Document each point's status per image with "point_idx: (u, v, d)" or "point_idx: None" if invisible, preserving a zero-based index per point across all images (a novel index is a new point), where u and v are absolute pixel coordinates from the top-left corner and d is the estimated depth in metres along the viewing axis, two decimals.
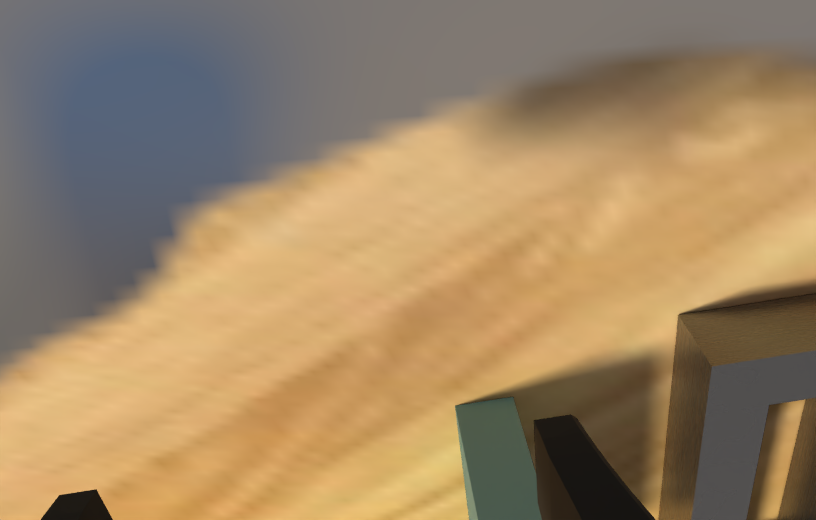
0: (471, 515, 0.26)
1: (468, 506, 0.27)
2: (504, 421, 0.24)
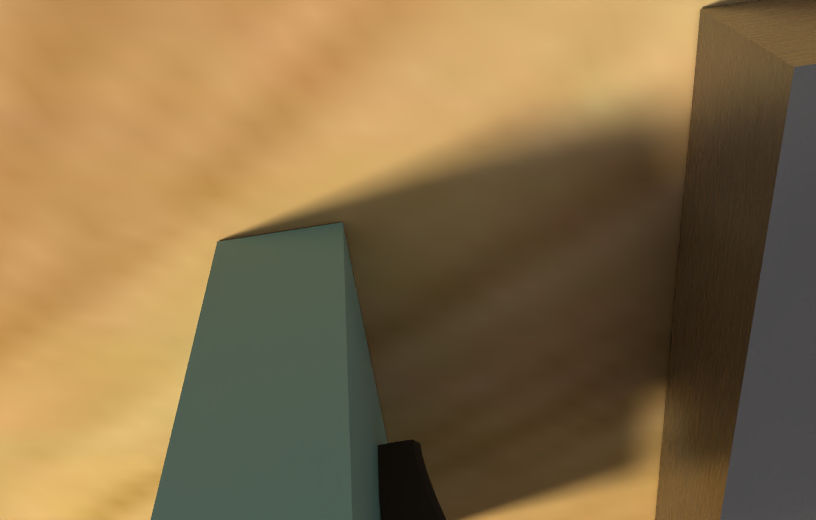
0: None
1: None
2: (309, 265, 0.11)
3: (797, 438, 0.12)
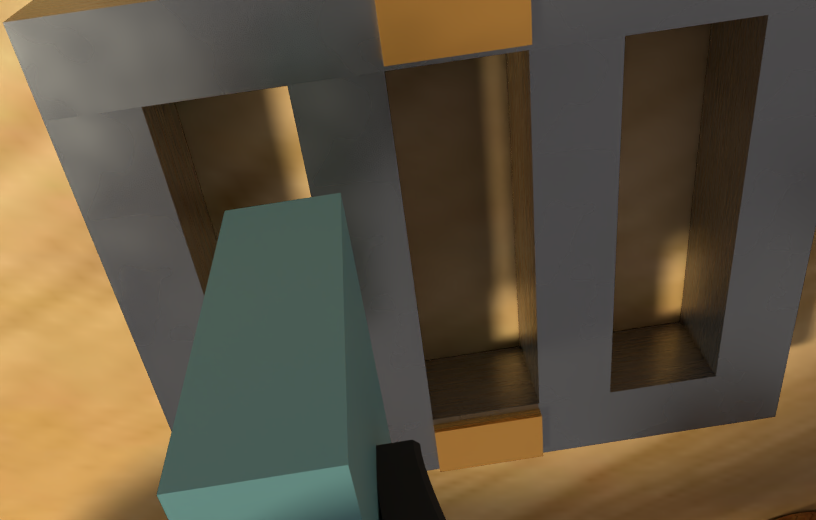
0: None
1: None
2: (309, 230, 0.12)
3: (157, 281, 0.17)
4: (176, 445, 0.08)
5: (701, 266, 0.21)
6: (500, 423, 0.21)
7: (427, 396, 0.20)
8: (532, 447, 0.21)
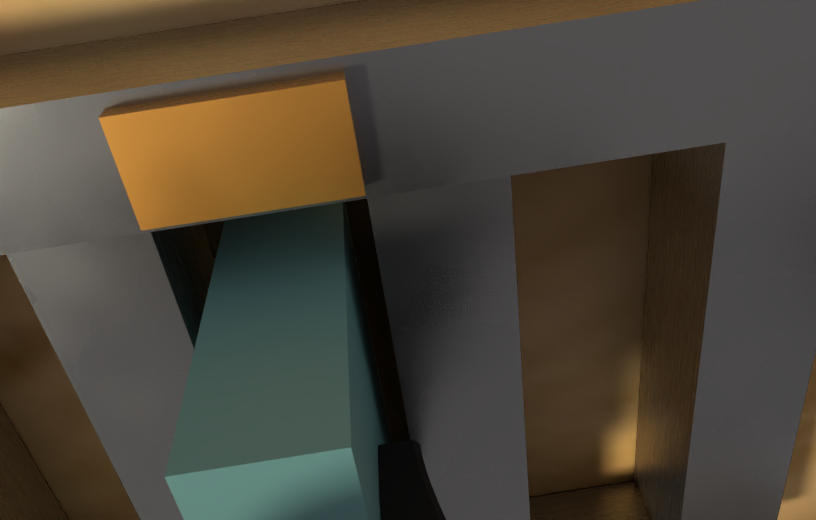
0: None
1: None
2: (312, 224, 0.12)
3: None
4: (183, 429, 0.08)
5: (654, 432, 0.16)
6: None
7: None
8: None
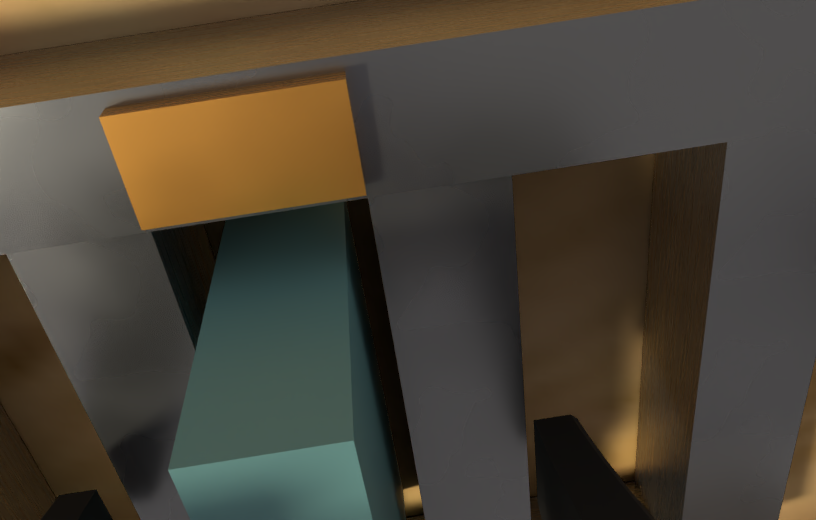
0: None
1: None
2: (313, 220, 0.12)
3: None
4: (185, 424, 0.08)
5: (655, 432, 0.16)
6: None
7: None
8: None
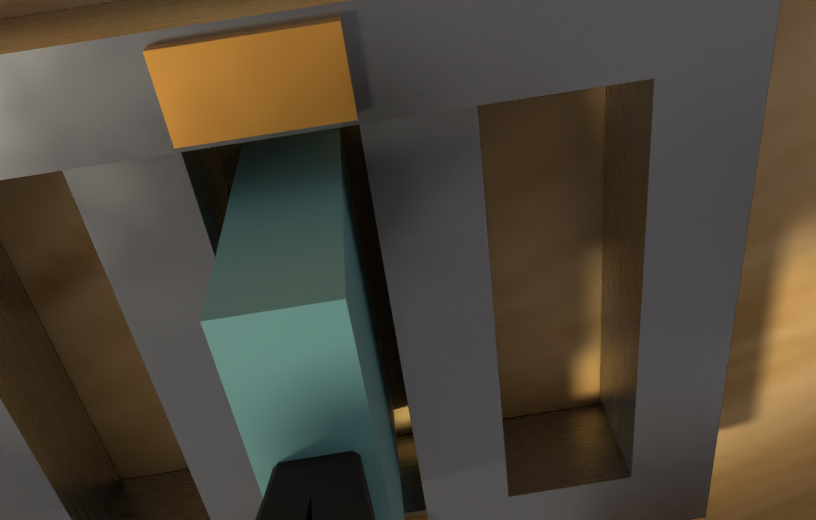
0: None
1: None
2: (314, 153, 0.14)
3: None
4: (213, 292, 0.11)
5: (613, 351, 0.18)
6: None
7: None
8: None
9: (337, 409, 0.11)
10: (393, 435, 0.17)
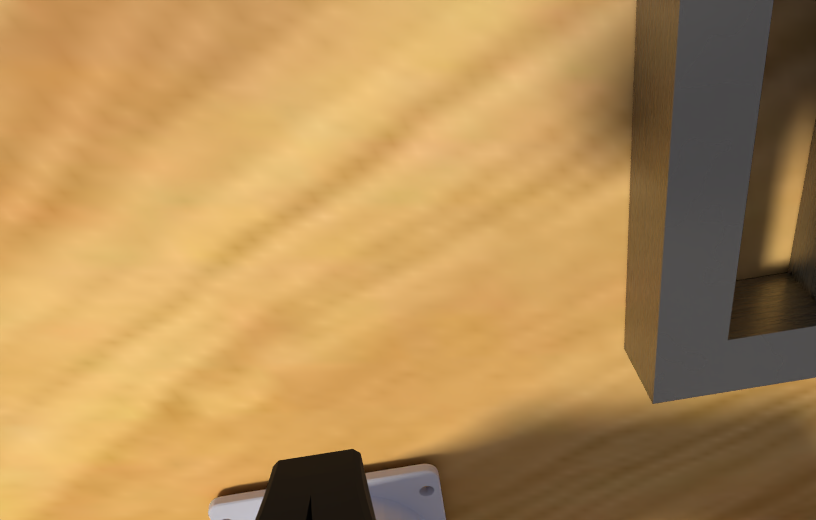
0: None
1: None
2: None
3: (713, 156, 0.17)
4: None
5: None
6: None
7: None
8: None
9: None
10: None
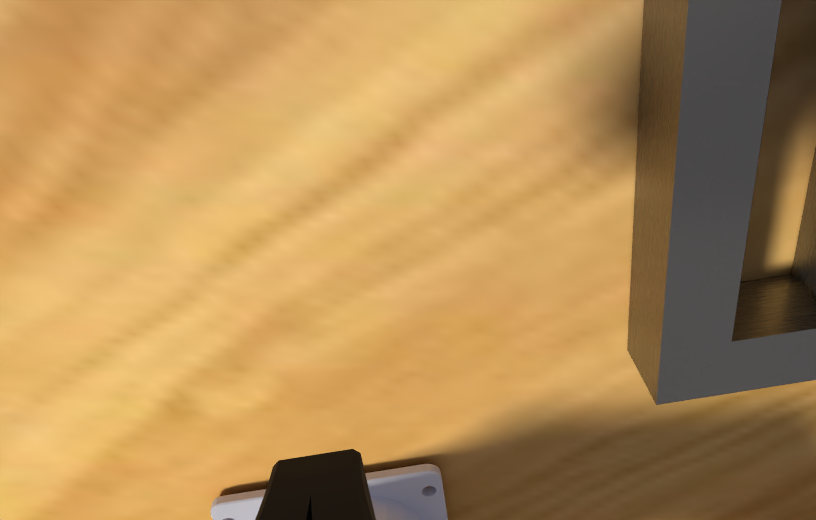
0: None
1: None
2: None
3: (719, 158, 0.17)
4: None
5: None
6: None
7: None
8: None
9: None
10: None
